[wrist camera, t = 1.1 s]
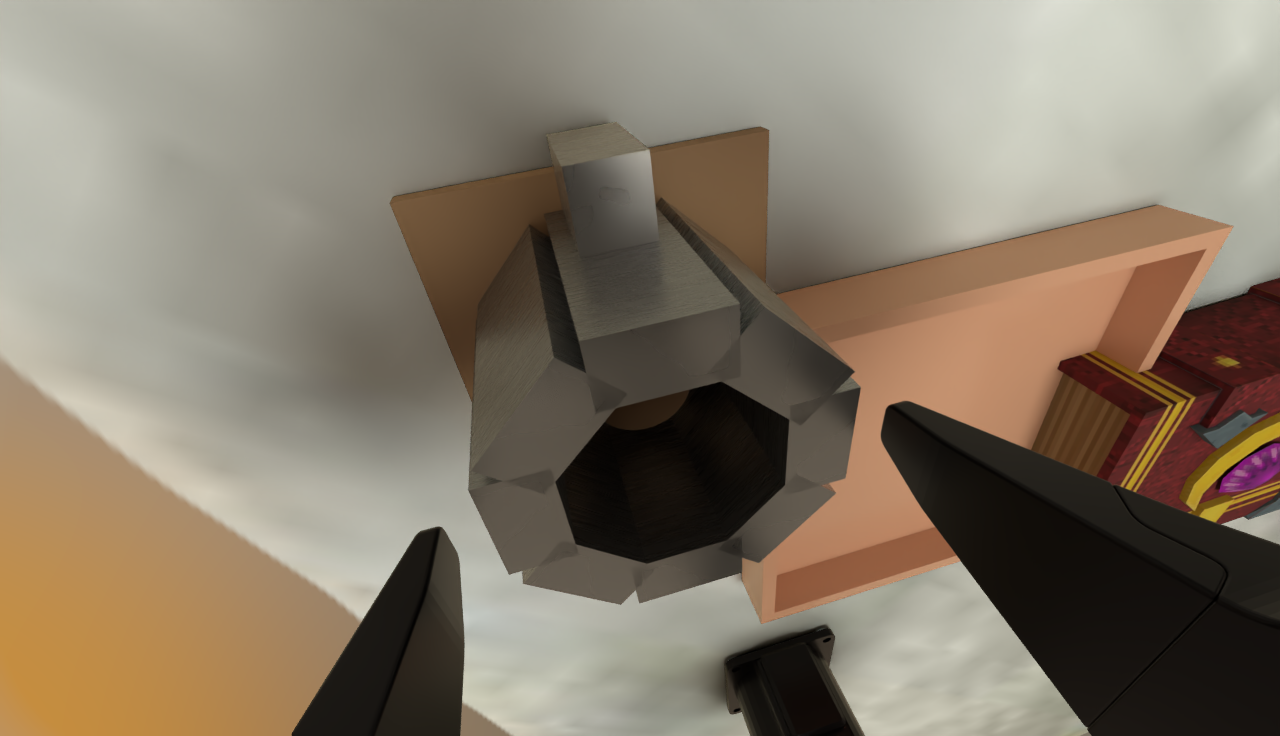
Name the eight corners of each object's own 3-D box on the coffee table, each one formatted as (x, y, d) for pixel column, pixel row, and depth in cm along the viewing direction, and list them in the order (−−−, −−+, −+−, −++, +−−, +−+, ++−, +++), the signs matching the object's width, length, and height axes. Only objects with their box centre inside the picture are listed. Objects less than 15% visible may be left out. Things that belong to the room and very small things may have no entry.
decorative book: (1035, 342, 21) (1167, 421, 17) (1363, 245, 22) (1555, 296, 18) (972, 516, 27) (1054, 602, 23) (1227, 433, 29) (1345, 500, 25)
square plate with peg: (756, 400, 18) (804, 471, 15) (502, 466, 17) (505, 555, 14) (760, 126, 13) (835, 157, 10) (393, 196, 12) (362, 253, 9)
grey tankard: (737, 395, 17) (834, 544, 12) (523, 450, 16) (537, 633, 11) (733, 100, 12) (899, 158, 7) (417, 158, 11) (360, 268, 6)
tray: (1019, 496, 26) (1057, 530, 25) (741, 580, 25) (761, 623, 23) (1158, 204, 17) (1233, 226, 16) (739, 303, 16) (770, 339, 14)
